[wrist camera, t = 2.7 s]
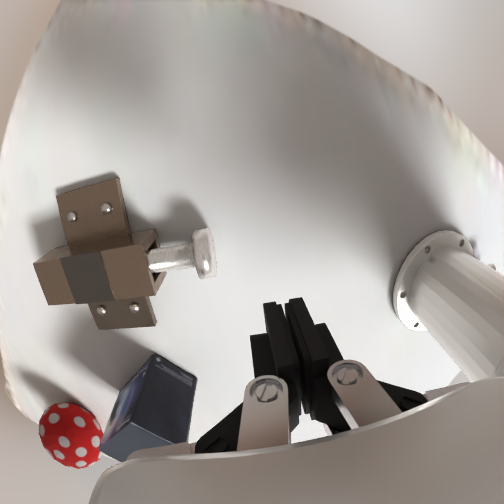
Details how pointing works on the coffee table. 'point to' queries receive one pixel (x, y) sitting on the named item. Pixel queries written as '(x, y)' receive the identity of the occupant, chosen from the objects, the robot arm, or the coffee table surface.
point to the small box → (150, 410)
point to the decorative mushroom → (71, 435)
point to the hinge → (101, 259)
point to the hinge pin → (187, 255)
